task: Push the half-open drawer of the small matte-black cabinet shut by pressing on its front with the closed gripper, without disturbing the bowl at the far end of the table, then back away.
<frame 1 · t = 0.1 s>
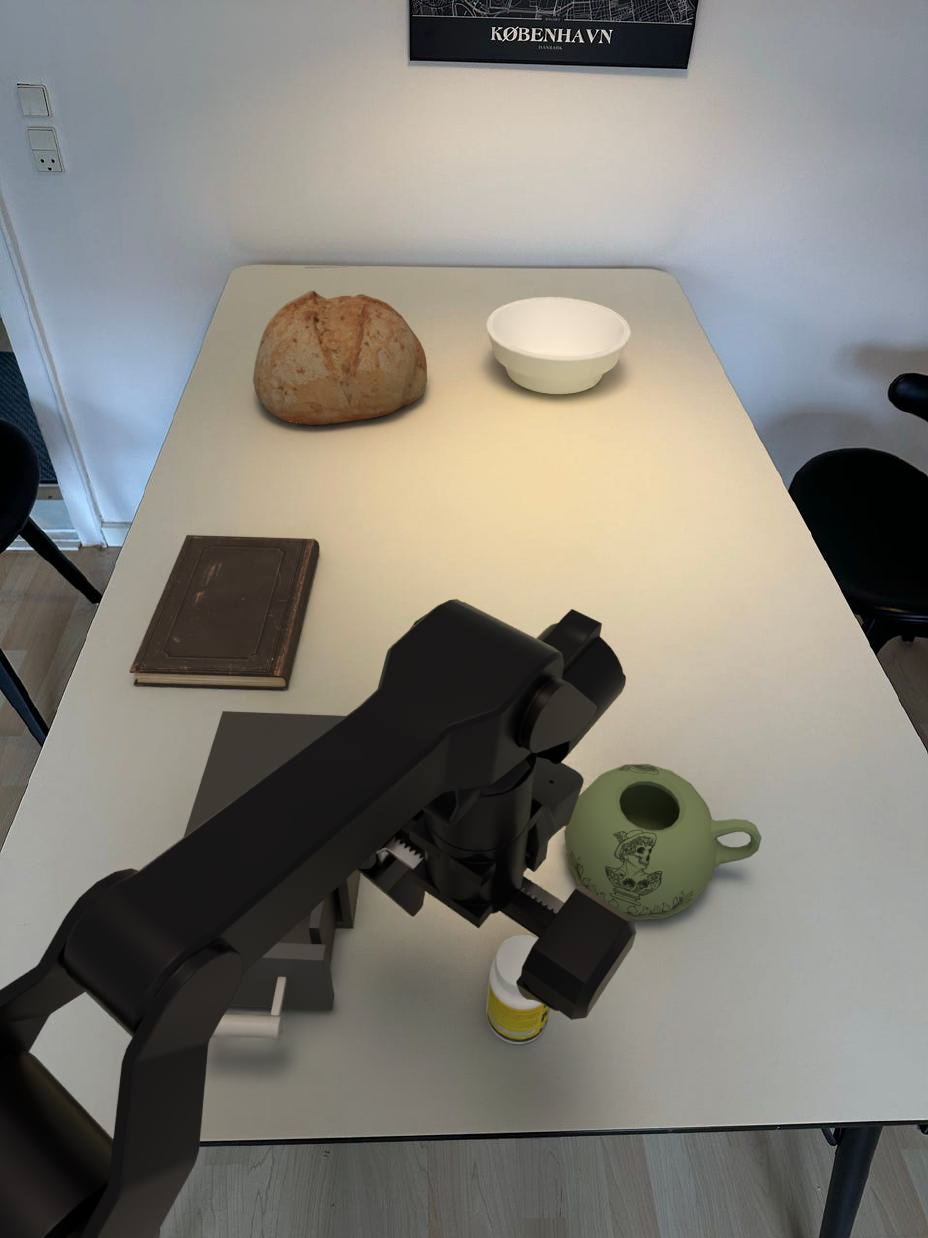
hand: (470, 949, 59), 13 cm above the table, tool pointing down, fingers open, 9 cm apart
supplement bottle: (516, 1015, 69), on the table
bowl: (553, 376, 146), on the table
hardcover book: (235, 615, 102), on the table
cabinet: (292, 848, 79), on the table
bread: (343, 395, 140), on the table
mug: (652, 866, 79), on the table
drawer: (262, 924, 69), point 5 cm above the table, slide at 6.0 cm
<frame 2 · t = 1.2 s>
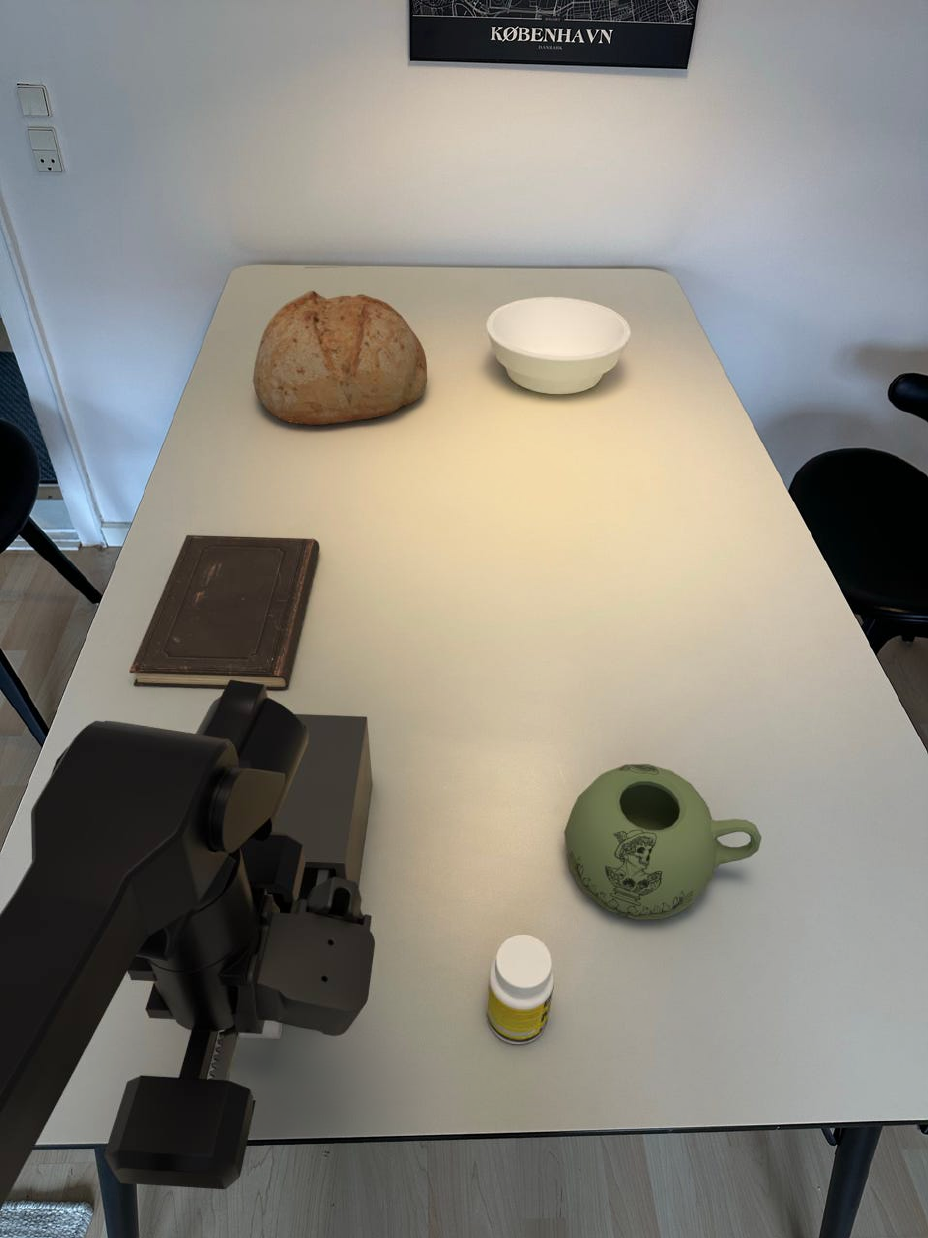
hand: (241, 1052, 55), 12 cm above the table, tool pointing down, fingers open, 9 cm apart
nothing on the table moved.
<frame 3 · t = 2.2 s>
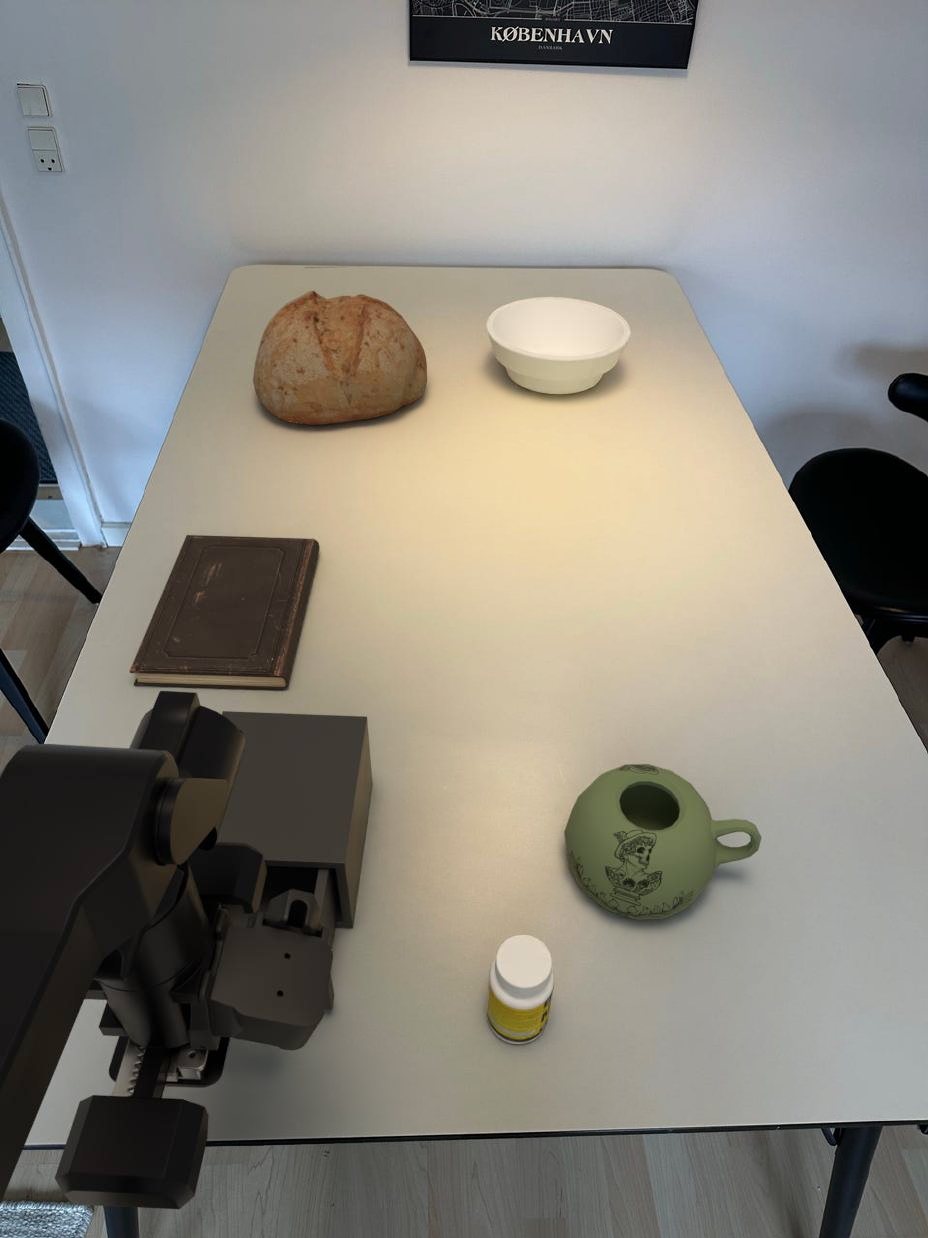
hand: (203, 1065, 54), 12 cm above the table, tool pointing down, fingers closed
nothing on the table moved.
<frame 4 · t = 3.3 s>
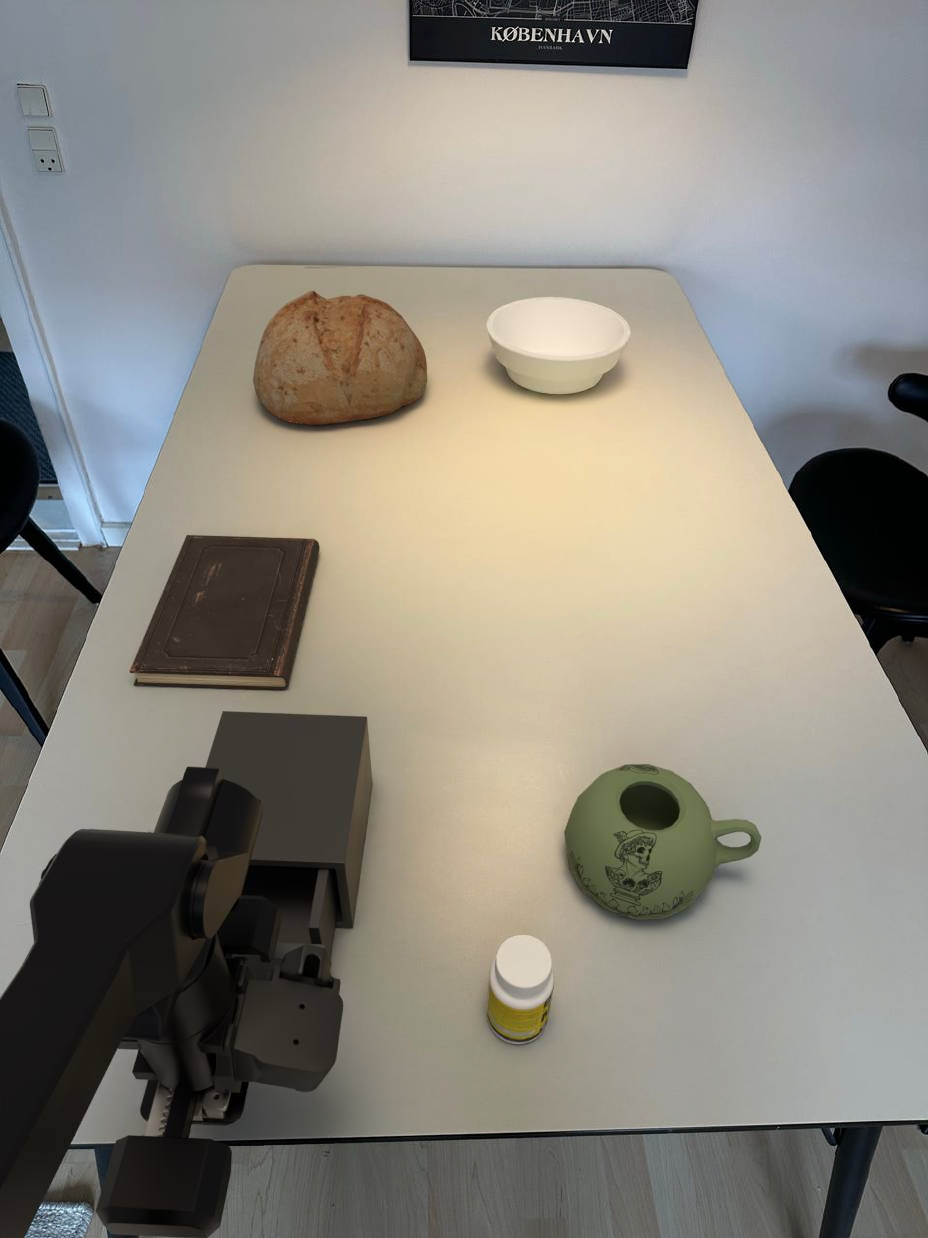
hand: (223, 1100, 59), 5 cm above the table, tool pointing down, fingers closed
nothing on the table moved.
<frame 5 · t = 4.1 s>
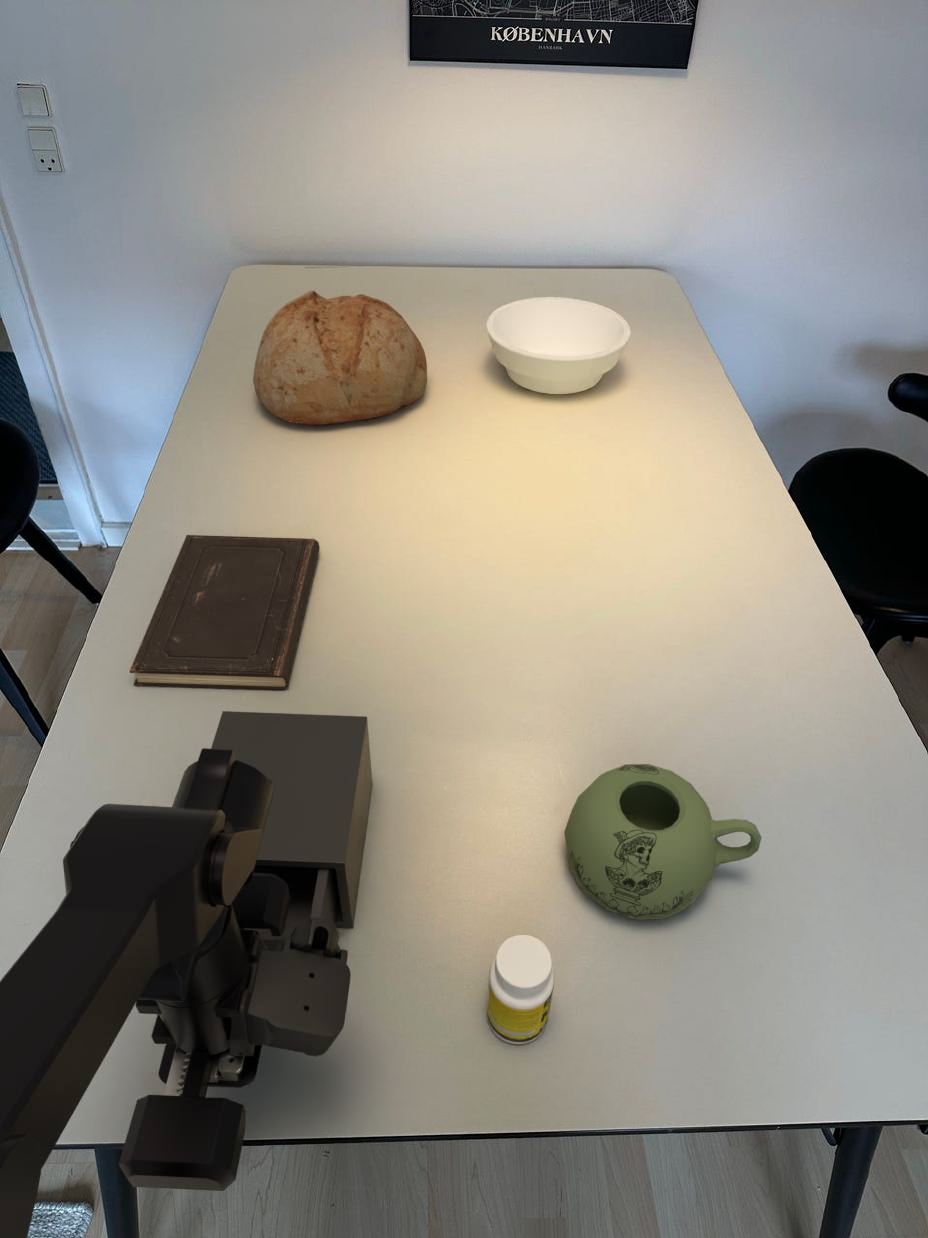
hand: (235, 1067, 62), 4 cm above the table, tool pointing down, fingers closed
drawer: (263, 921, 69), point 5 cm above the table, slide at 5.8 cm, touching gripper
everything else where it was.
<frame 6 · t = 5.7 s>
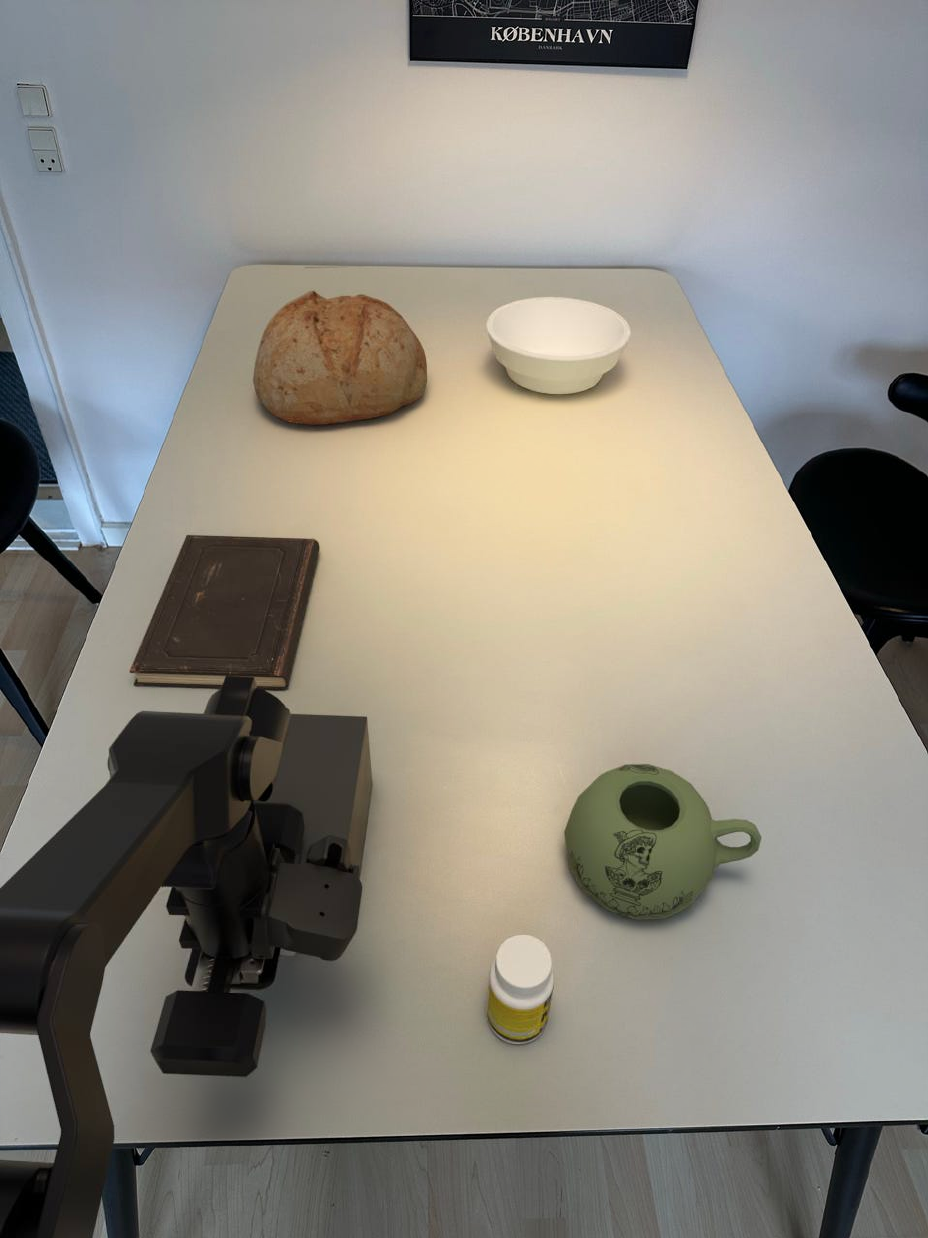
hand: (253, 984, 66), 4 cm above the table, tool pointing down, fingers closed
drawer: (277, 856, 73), point 5 cm above the table, slide at 0.0 cm, touching cabinet, gripper
everything else where it was.
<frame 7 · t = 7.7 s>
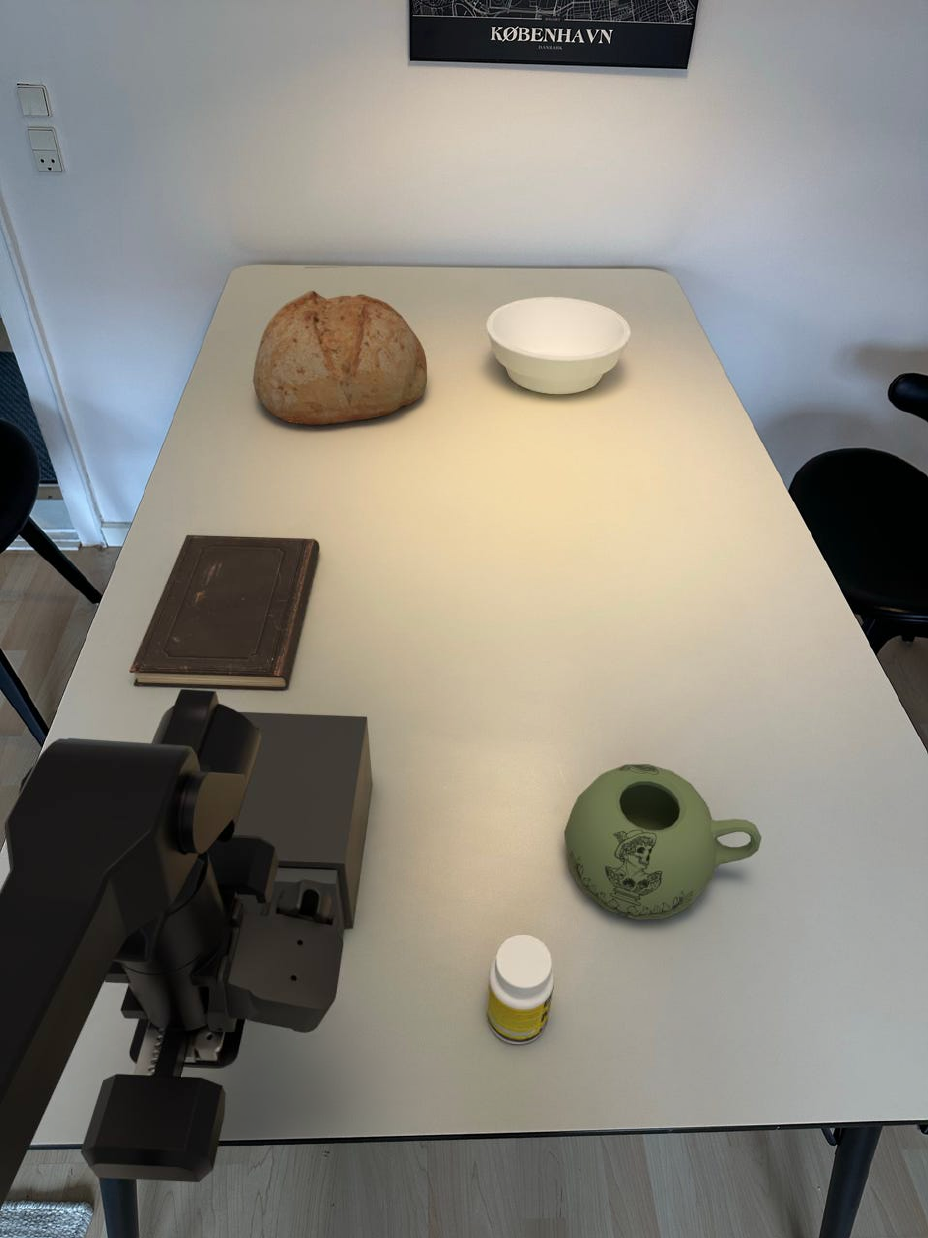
hand: (217, 1049, 56), 10 cm above the table, tool pointing down, fingers closed
drawer: (277, 856, 73), point 5 cm above the table, slide at 0.0 cm
everything else where it was.
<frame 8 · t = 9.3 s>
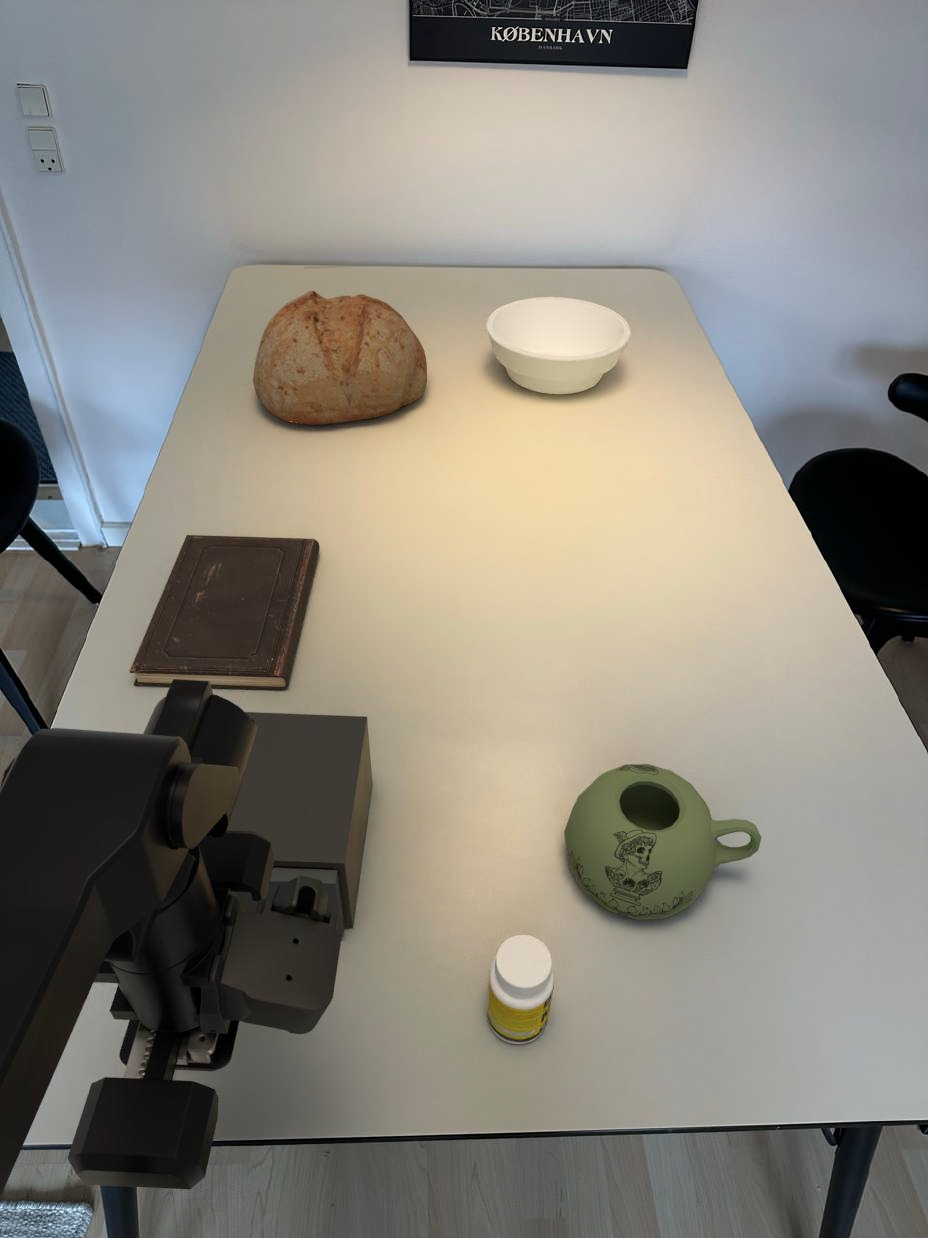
hand: (211, 1050, 55), 12 cm above the table, tool pointing down, fingers closed
nothing on the table moved.
at the end: drawer slide at 0.0 cm; bowl moved 0.2 cm from its start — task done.
